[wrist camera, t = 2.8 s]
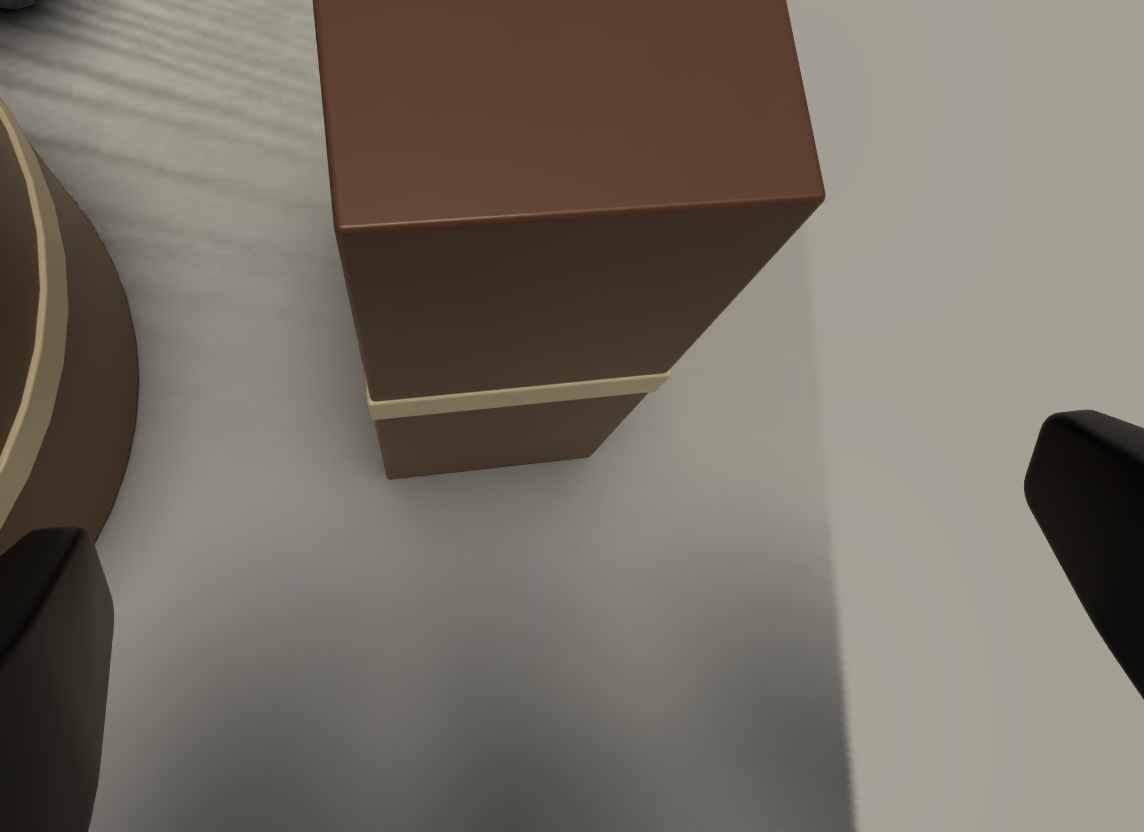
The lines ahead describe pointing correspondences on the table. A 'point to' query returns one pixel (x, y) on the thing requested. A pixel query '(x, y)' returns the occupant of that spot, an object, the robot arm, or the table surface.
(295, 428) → the table surface
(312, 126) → the table surface
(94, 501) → the cake
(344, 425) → the table surface
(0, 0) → the planter
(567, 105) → the cake slice
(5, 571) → the robot arm
